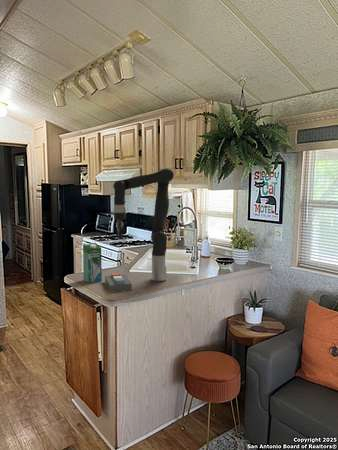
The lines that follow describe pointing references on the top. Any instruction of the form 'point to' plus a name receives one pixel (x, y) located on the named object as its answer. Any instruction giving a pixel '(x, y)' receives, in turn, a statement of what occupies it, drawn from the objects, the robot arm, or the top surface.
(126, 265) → the top surface
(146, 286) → the top surface
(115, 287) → the key panel
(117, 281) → the blue key
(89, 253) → the milk carton
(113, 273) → the red key
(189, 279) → the top surface
